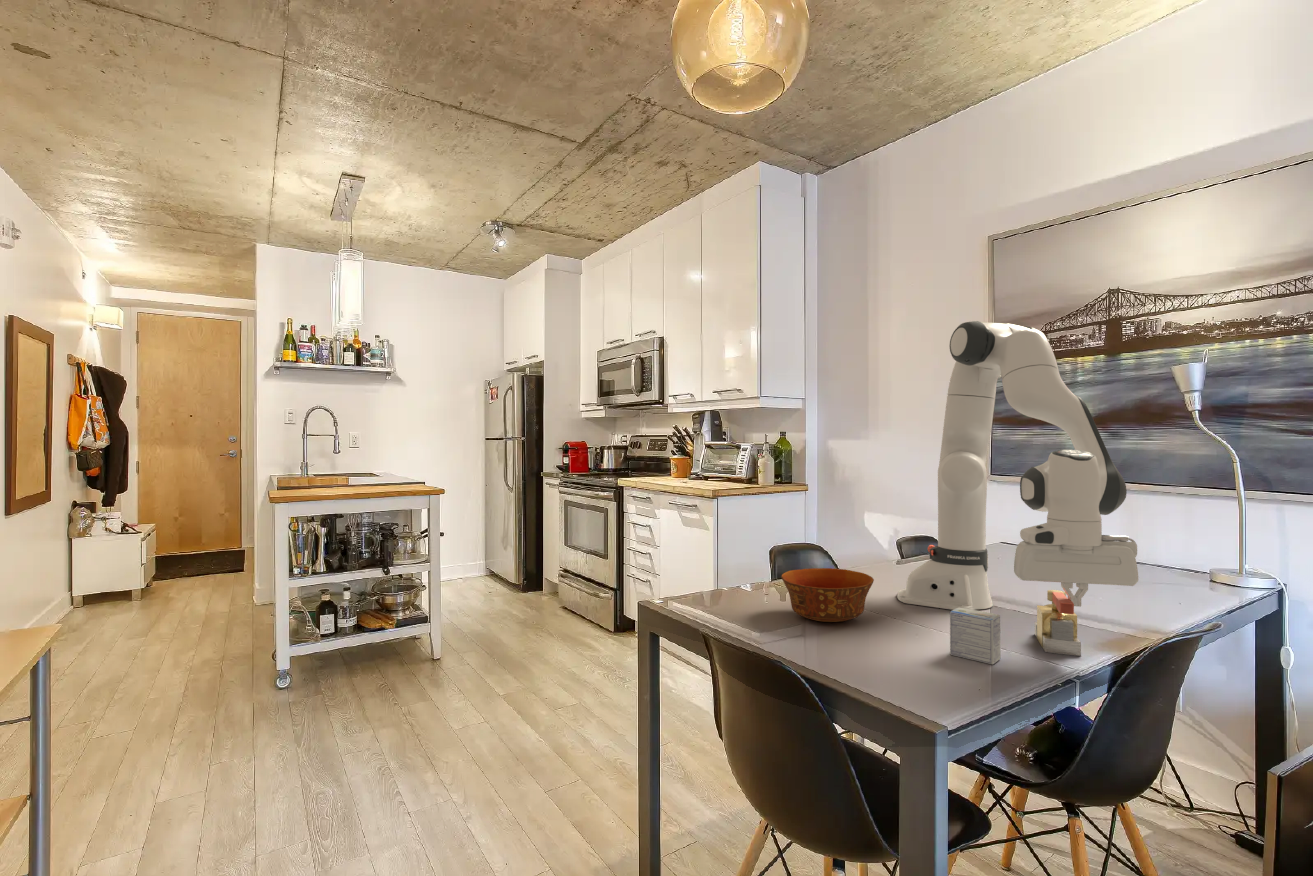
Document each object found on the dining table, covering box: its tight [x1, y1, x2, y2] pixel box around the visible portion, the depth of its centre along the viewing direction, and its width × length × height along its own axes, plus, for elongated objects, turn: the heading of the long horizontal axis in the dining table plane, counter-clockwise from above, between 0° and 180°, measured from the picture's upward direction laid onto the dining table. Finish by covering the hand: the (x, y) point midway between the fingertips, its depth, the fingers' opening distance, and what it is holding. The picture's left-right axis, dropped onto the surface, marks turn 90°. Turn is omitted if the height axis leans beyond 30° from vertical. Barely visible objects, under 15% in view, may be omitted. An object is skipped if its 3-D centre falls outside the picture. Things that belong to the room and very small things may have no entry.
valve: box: [1034, 601, 1082, 657], centre depth 129 cm, size 12×6×9 cm, turn 157°
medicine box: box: [949, 608, 1002, 665], centre depth 122 cm, size 8×4×9 cm, turn 44°
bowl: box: [780, 567, 875, 623], centre depth 148 cm, size 21×21×10 cm
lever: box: [1046, 589, 1075, 614], centre depth 125 cm, size 12×3×2 cm, turn 157°
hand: (1074, 605), depth 122 cm, fingers closed, pressing on lever
